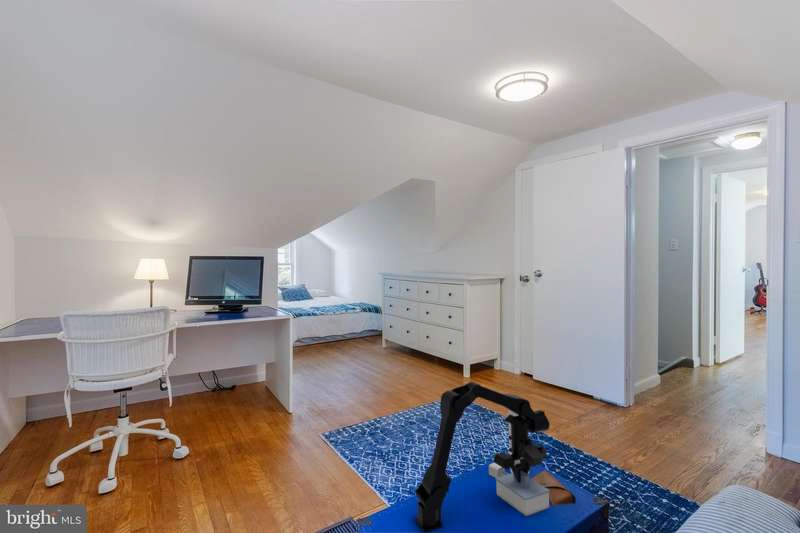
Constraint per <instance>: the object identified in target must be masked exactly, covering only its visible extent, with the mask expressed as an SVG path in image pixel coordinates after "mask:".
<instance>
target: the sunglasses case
mask: <svg viewBox="0 0 800 533" xmlns="http://www.w3.org/2000/svg"><path fill="white" fill-rule="evenodd" d="M531 479H532V480H533V481H535V482H537V483H538V484H540V485H542V486H543V487H545V488H547V489H548V490H550V492H549V503H550V504H551V505H552V506H554V507H555V506H562V505H563V506H564V505H571V504H572V505H573V504H574V505H575V504H576V501H577V499H576V496H575V495H574V494H573V493H572V491H570V490H569V489H568V488H566V486H564V485H563V483H561V481H559V480H558V479H557V478H555V477H554V476H553V475H552V474H550V473H549V472H548V471H547V470H546V469H545V468H544V470H542V471H541V472H539V473H537V474H536V475H535V476H533V477H532V478H531Z"/></svg>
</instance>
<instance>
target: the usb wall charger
mask: <svg viewBox="0 0 800 533" xmlns="http://www.w3.org/2000/svg"><path fill="white" fill-rule="evenodd" d="M505 470H506V469H504V468H502V467H501V466H499V465H498V464H496V463H494V462H492V463H490V464H489V465H488V475H489V476H491V477H493V478H494V479H495V478H498V477H501V476H505V475H508V474H509V473H508V472H506V471H505Z"/></svg>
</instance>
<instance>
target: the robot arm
mask: <svg viewBox="0 0 800 533" xmlns="http://www.w3.org/2000/svg"><path fill="white" fill-rule="evenodd" d="M479 398H481V399H483V400H484V401H485V400H486V401H488V402H492V403H493V404H497V405H499V406H502V407H503V408H504V409H506V410H507V411H508V410H510V411H511V412H513V413H515V414H517V415H518V416H513V415H511V414H509V416H507V417H505V419H504V421H505V422H507V423H508V424H509V423H510V424H511V436H509V435H508V439H510V440H511V446H512V447H511V448H510V447H509V448H508V452H509V453H510V452H512V454H511V455H510V454H508V453H506V452H504V451H503V452H498V453H495V454H494V455H493V463H496V464H498V465H499V466H501V467H502V468H504V469H505V470H510V468H511V469H512V472H513V474H514V476H515V478H516V480H517V482H518V483H520V480H521V471H523V472H525V473H526V474H528V472H529V473H530V468H531V467H536V466H541V465H542V463H543V460H546V459H547V458H548V457H547V450H546V447H544V446H543V445H541V446H540V445H538V444H536V443H533V440H532V438H530V437H529V435H530V434H529V432H530V433H531V434H534V433H539V432H540V433H541V432H546V431H548V430H549V429H550V422H549V419H548V417H547V415H546V412H545V411H544V410H542V409H538V410H536V411H535V410H533V409H532V407H531V402H530V401H529V400H528V399H525V398H523V397H521V396H518V395H516V394H511V393H503V392H502V393H501V392H499V391H496V390H493V389H491V388H488V387H486V386H482V385H481V384H480V383H476V382H475V381H470V382H468V383H466V384H463V385H461V386H458V387H457V386H456V387H454V388H453V389H450V390H446V391H444V392H443V393H442V394H441V396H440V406H439V408H440V409H439V410H440V416H441V418H440V419H441V421H440V425H439V428H438V433H437V437H436V438H437V439H436V443H435V447H434V450H433V451H434V452H433V454H432V455H433V456H432V460H431V462H430V465H429V467H428V468H427V469H426V470H425V472H424V474H423V477H422V480H421V483H420V484H419V486H418V487H417V488H416V489H415V491H414V493H415V496H416V499H418V500H419V501H418V502H417V517H416V518H415V523H416V524H417V525H418V526H419V527H420V528H421V530H422V531H424V533H425V532H426V533H428V532H429V531H432V530H436V529H438V528H441V527H444V523H443V522H442V507H443V502H444V500H445V498H446V497H447V493H450V491H449V490H450V484H451V481H452V478H451V477H450V476H449V475H448V473H447V467H448V464H449V463H448V462H449V459H450V458H449V457H450V454H451V448H452V444H453V440H454V435H455V431H456V426H457V423H458V422H459V421H460V420H461V419H462V417H463V415H464V411H465V409H466V408H468V407H469V406H471V405H472V404H473V403H474V402H475V401H476V399H479ZM512 472H511V473H512ZM528 475H529V474H528Z"/></svg>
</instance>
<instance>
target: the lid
mask: <svg viewBox="0 0 800 533" xmlns="http://www.w3.org/2000/svg"><path fill="white" fill-rule="evenodd" d="M494 479H495V481H498V482H499V483H501V484H502V485H504V486H505V487H507V488H508V489H509V490H511V491H512V492H514V493H515V494H517V495H518V496H520V497H521V498H523V499H524V500H528V499H531V498H534V497H537V496H540V495H543V494H546V493H548V492H550V490H548V489H547V488H545V487H543V486H542V485H540V484H538V483H537V482H535V481H533V480H532V478H530V474H526V473H525V472H523V471H521V480H520V483H518V482H517V480H516V478H515V476H514V474H513V473H512V472H510V473H508V474H507V475H506V474H505V476H501V477H498V478H495V477H494Z"/></svg>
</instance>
